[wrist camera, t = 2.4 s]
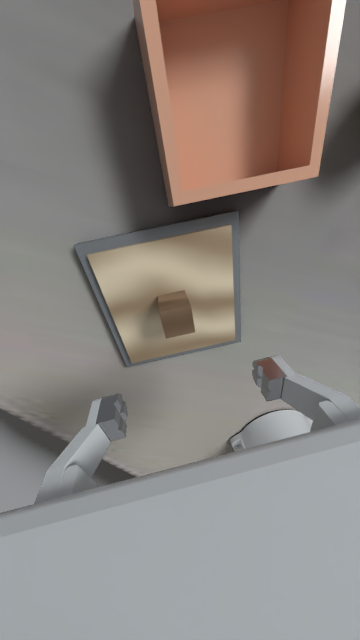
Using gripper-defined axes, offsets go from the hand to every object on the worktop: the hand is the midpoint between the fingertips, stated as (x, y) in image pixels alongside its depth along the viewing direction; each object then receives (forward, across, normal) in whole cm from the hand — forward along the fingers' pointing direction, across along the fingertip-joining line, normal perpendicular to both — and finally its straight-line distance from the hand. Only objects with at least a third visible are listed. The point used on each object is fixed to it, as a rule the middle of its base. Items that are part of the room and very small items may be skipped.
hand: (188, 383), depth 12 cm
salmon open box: (+13, -8, -14) cm, 21 cm away
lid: (+12, 0, +1) cm, 12 cm away
